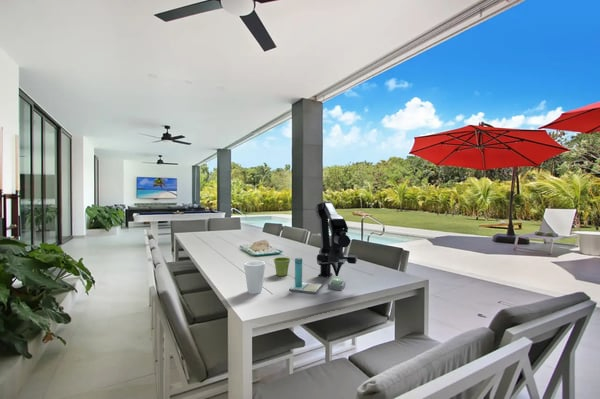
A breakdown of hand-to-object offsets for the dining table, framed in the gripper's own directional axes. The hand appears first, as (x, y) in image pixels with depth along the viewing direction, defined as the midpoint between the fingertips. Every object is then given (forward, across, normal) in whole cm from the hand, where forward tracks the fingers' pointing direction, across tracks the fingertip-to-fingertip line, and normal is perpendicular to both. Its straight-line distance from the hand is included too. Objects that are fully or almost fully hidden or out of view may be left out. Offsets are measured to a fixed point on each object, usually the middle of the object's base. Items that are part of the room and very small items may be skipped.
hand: (336, 275), depth 137 cm
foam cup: (+6, -34, -19) cm, 39 cm away
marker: (+4, -17, -8) cm, 19 cm away
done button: (+5, 0, 0) cm, 5 cm away
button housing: (+5, 0, 0) cm, 5 cm away
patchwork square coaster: (+5, -13, -7) cm, 16 cm away
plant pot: (+6, -33, +10) cm, 35 cm away
